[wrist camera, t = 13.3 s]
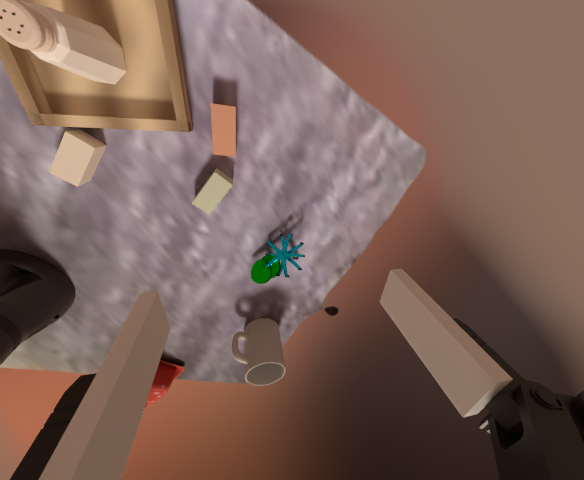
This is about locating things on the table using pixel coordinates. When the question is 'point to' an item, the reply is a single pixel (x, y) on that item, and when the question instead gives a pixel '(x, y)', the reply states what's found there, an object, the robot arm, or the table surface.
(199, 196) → the sage brick
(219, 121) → the terracotta brick
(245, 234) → the table surface
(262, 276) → the stick construction toy
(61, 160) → the cream brick
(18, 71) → the oak tray
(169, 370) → the butter dish
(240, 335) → the mug
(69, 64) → the pepper shaker
